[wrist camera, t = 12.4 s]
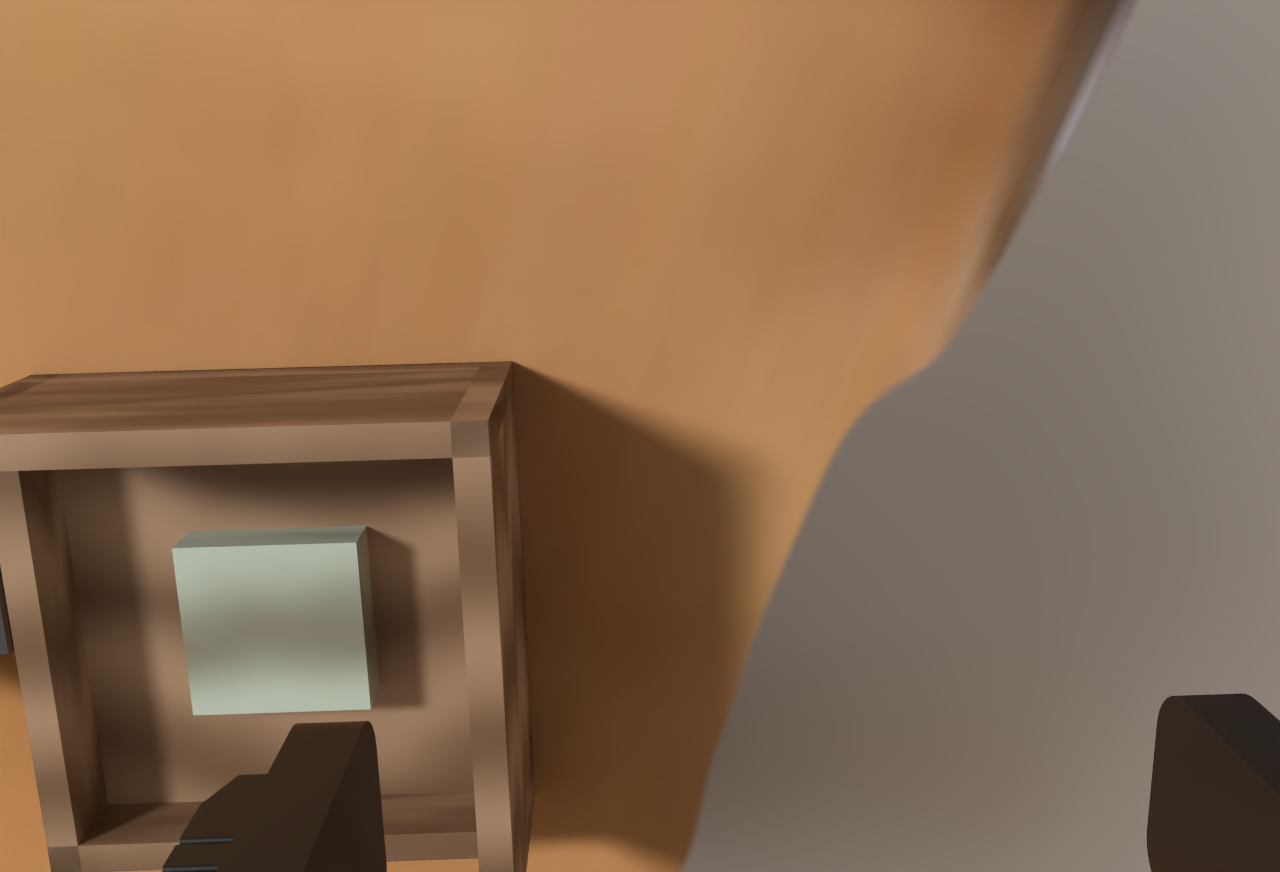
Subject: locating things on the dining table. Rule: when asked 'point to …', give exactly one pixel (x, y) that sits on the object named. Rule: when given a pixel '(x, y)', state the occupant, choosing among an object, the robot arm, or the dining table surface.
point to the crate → (268, 596)
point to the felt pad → (4, 625)
